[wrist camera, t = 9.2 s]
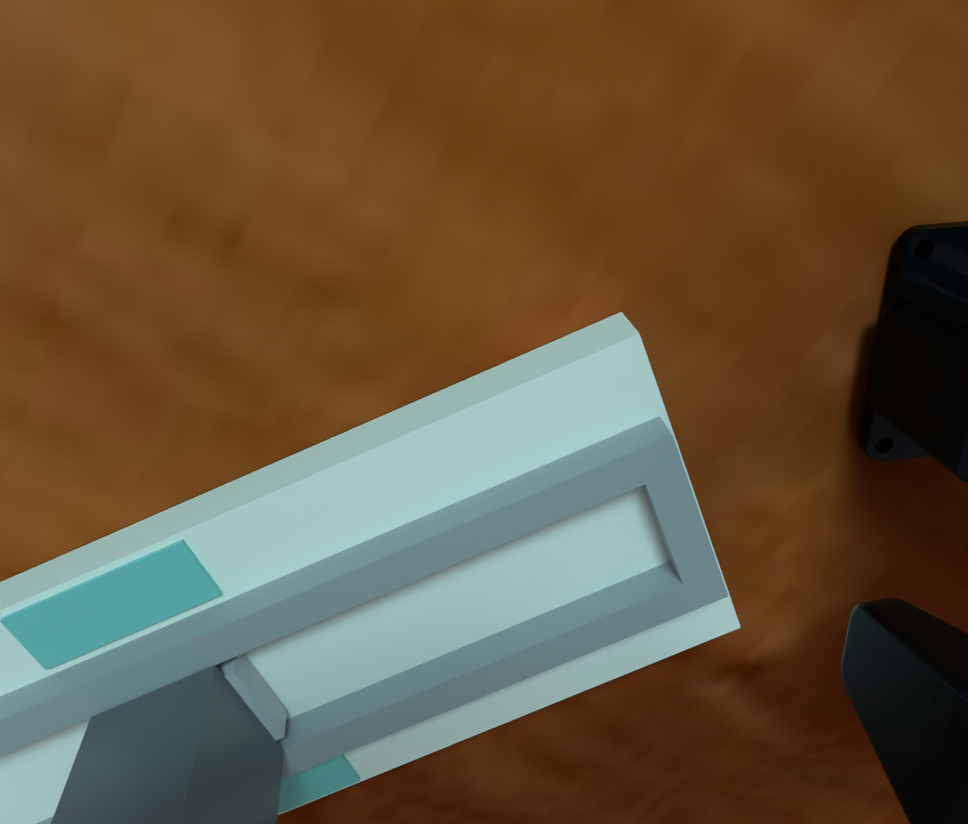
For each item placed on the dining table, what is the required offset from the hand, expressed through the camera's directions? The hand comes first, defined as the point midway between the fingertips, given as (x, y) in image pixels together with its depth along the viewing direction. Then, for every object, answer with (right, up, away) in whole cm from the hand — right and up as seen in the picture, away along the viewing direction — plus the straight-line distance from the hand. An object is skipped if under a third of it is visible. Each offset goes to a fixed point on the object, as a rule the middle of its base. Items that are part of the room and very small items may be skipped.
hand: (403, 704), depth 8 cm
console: (-7, -4, +16) cm, 18 cm away
